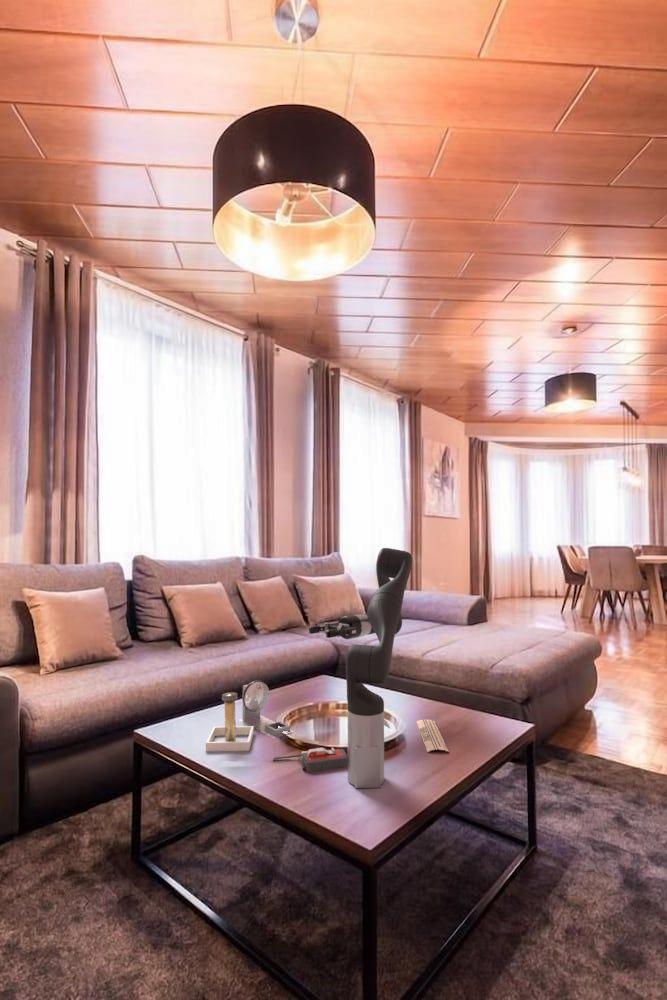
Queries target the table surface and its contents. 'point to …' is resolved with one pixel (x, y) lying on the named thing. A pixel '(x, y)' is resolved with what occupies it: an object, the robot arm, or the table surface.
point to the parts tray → (230, 745)
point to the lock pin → (230, 716)
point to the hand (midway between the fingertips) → (318, 632)
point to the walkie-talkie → (320, 759)
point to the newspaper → (431, 735)
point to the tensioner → (253, 703)
